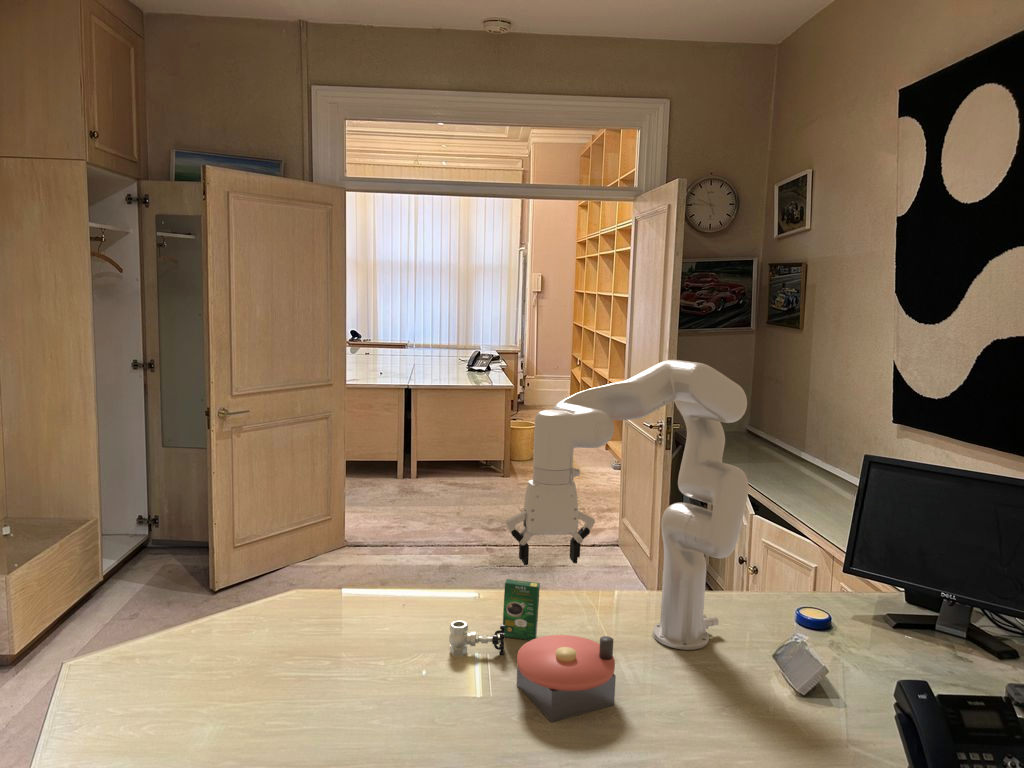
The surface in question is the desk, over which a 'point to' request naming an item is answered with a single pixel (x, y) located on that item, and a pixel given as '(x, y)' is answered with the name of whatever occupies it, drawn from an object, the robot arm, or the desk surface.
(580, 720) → the desk surface
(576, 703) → the block
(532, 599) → the coffee box
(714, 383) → the robot arm
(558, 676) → the handwheel
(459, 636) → the valve
